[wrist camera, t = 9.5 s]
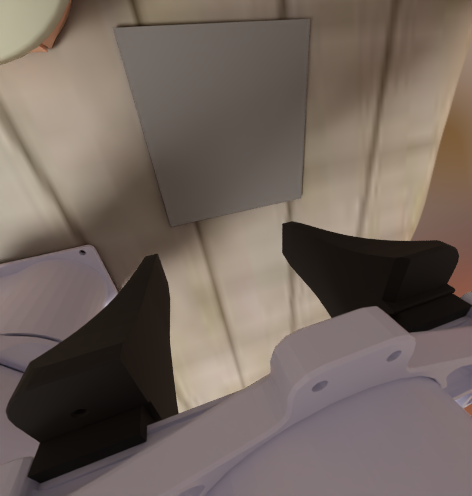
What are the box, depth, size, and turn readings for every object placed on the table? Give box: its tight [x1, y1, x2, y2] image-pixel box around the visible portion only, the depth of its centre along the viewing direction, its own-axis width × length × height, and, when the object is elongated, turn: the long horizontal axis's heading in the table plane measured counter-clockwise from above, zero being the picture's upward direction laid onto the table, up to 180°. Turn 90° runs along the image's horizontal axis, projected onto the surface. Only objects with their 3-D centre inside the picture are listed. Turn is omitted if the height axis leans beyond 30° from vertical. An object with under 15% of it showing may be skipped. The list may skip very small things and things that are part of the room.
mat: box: [113, 19, 310, 227], centre depth 19 cm, size 14×14×1 cm
